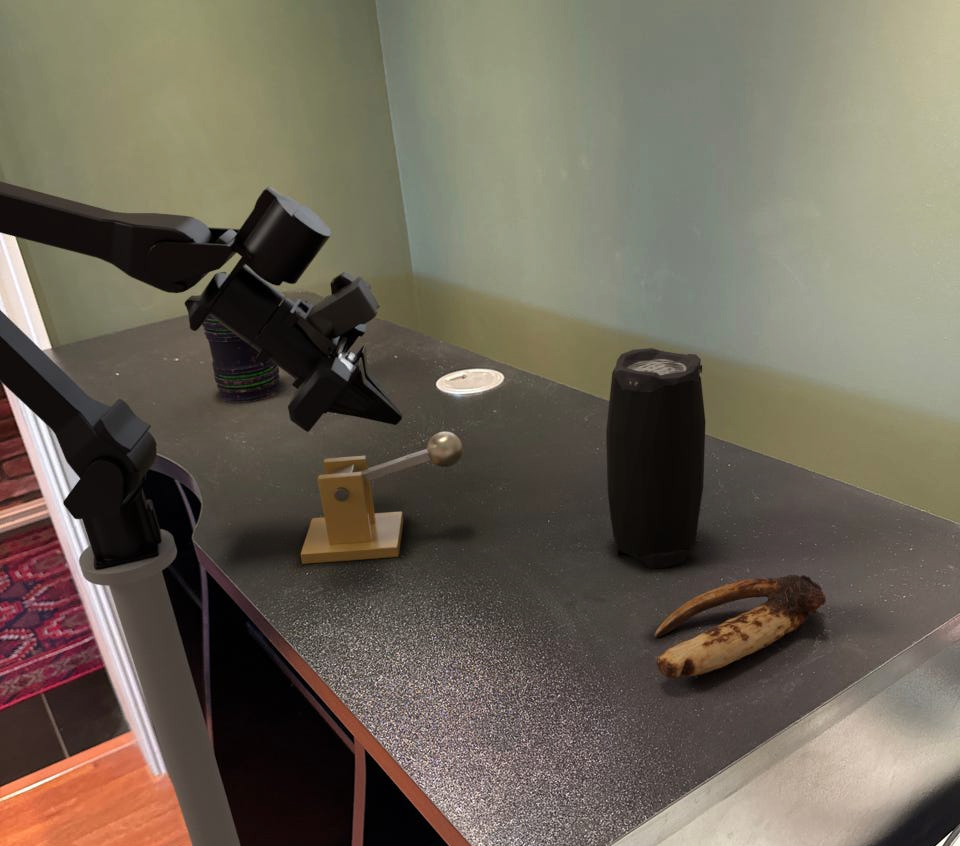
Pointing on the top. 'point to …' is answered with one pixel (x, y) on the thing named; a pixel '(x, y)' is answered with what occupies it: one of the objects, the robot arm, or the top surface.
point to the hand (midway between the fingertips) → (399, 420)
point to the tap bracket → (350, 519)
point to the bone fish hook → (739, 623)
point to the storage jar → (239, 366)
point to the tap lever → (416, 457)
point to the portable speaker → (655, 454)
